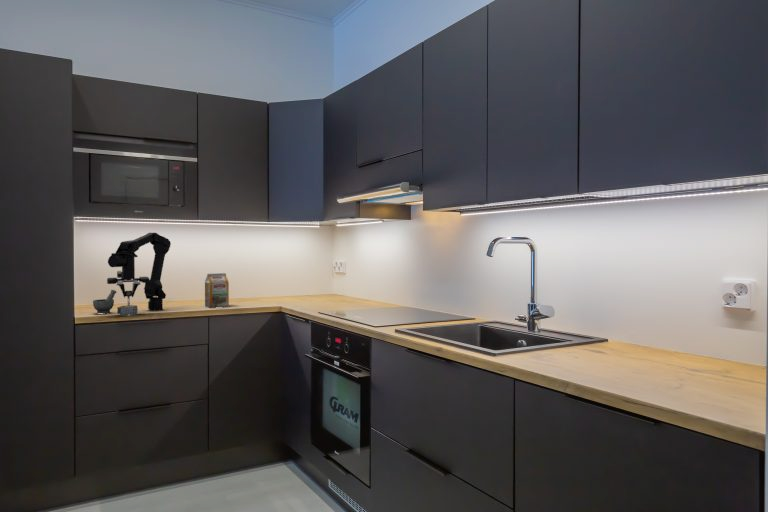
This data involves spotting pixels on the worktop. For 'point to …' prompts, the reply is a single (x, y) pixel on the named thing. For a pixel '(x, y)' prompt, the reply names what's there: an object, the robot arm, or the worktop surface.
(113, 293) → the mortar and pestle
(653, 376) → the worktop surface
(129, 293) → the plunger
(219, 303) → the printed carton
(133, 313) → the blue-grey block
